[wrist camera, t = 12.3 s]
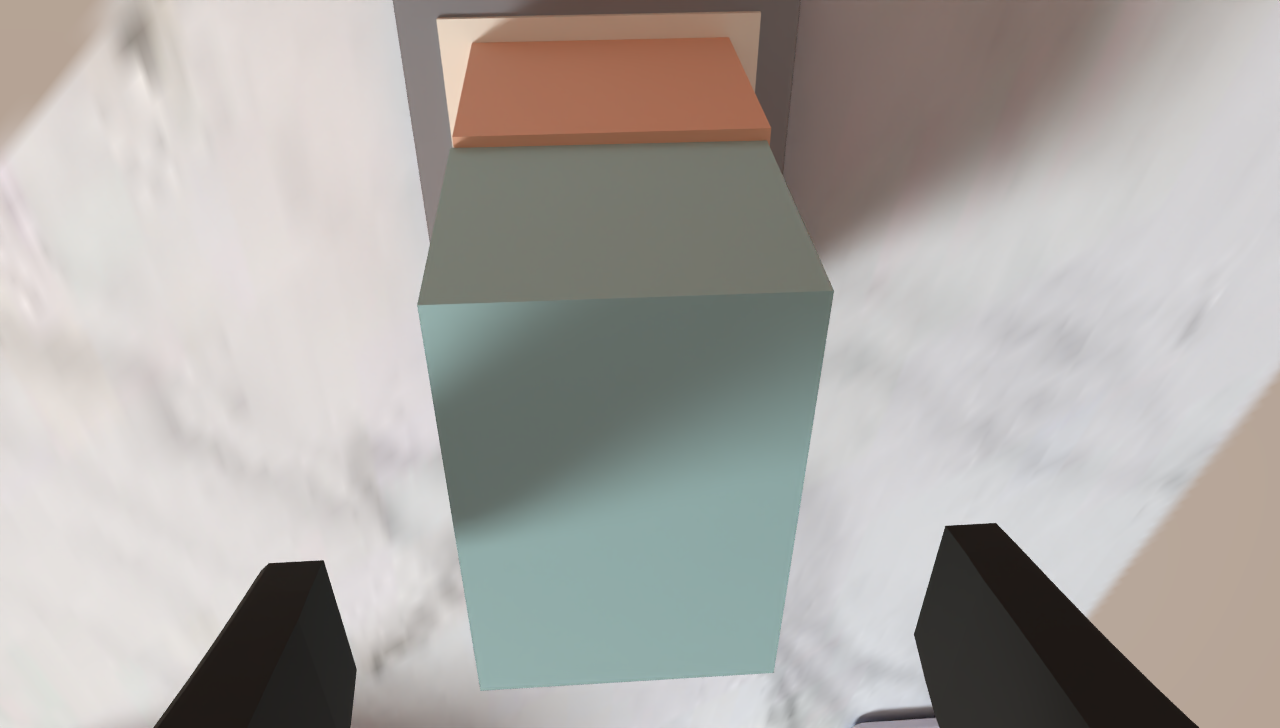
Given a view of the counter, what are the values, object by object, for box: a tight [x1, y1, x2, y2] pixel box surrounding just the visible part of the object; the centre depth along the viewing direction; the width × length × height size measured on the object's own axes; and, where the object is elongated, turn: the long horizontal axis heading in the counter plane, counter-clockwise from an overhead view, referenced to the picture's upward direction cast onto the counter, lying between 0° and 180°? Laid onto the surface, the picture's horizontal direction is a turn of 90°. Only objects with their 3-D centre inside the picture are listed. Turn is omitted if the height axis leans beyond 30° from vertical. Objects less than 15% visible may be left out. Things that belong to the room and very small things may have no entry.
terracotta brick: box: [452, 37, 771, 148], centre depth 17 cm, size 7×4×4 cm, turn 0°
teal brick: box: [417, 140, 834, 691], centre depth 14 cm, size 7×4×4 cm, turn 0°
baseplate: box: [393, 0, 801, 242], centre depth 19 cm, size 9×7×1 cm
